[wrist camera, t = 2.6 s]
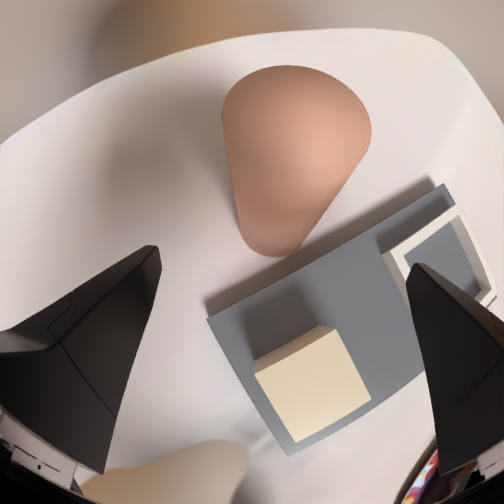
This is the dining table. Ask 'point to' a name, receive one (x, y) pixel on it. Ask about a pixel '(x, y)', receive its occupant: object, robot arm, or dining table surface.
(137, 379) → the dining table surface
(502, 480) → the robot arm
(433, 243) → the base plate
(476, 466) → the chocolate cake
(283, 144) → the pillar
